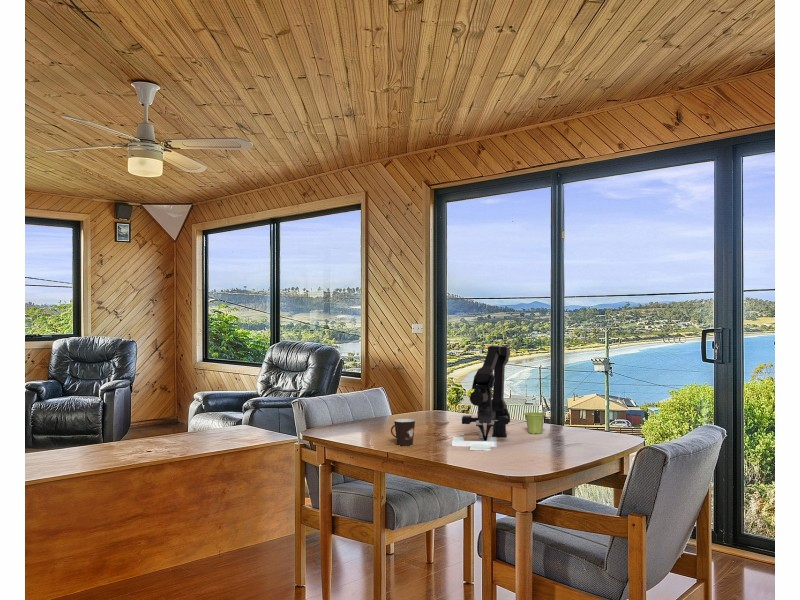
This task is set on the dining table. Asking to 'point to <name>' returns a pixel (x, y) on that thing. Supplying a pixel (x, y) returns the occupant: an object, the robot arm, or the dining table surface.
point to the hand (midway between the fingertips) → (485, 441)
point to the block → (471, 437)
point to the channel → (460, 441)
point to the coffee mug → (404, 431)
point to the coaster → (480, 447)
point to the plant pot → (534, 422)
